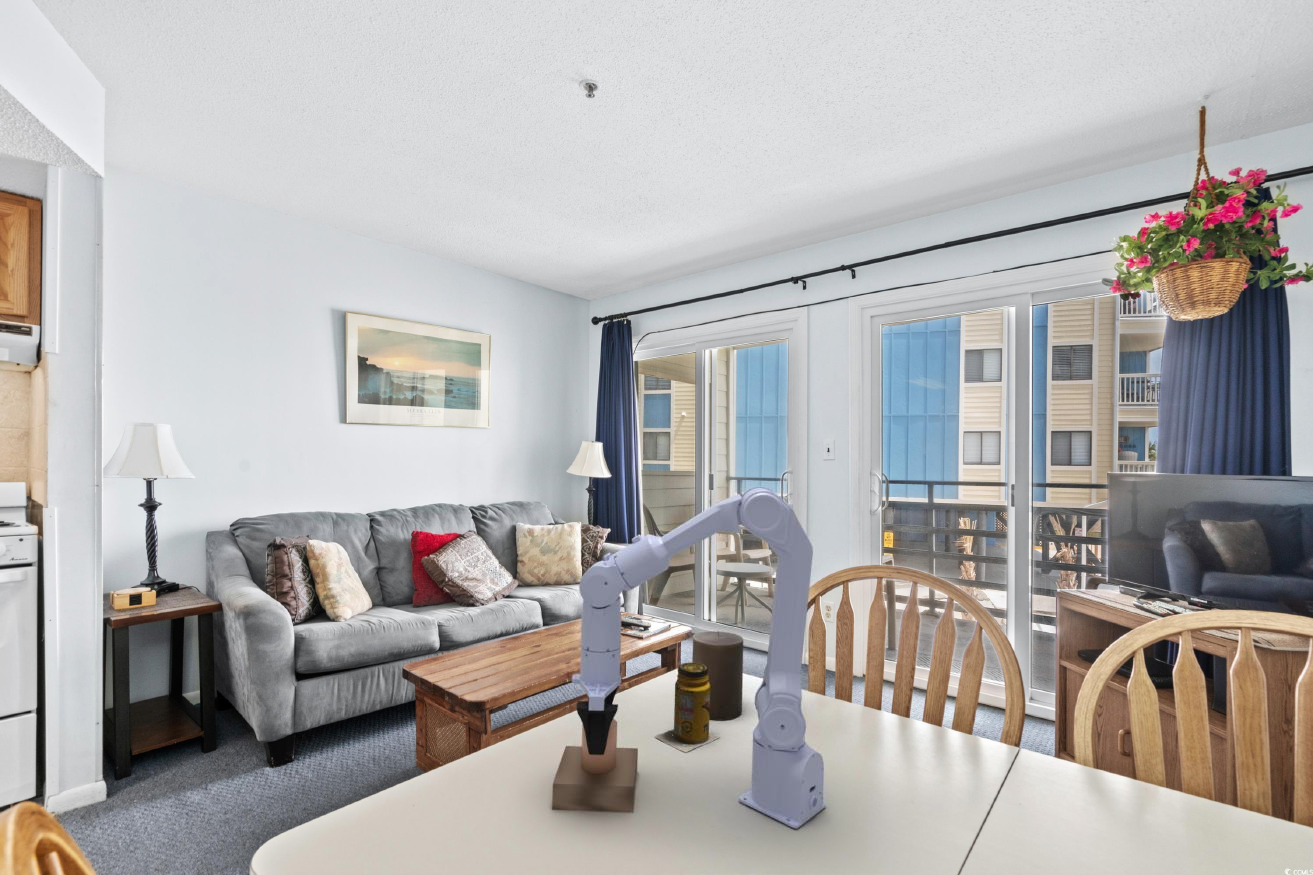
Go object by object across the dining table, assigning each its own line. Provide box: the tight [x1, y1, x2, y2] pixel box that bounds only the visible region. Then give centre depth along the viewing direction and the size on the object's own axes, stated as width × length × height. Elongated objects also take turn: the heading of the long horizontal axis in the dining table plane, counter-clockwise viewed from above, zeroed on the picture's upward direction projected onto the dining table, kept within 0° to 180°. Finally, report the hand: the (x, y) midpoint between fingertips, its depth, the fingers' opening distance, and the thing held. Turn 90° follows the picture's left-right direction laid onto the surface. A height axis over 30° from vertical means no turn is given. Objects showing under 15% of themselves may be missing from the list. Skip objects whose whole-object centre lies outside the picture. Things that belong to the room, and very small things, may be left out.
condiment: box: [654, 662, 720, 753], centre depth 110 cm, size 7×8×12 cm
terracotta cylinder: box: [581, 718, 618, 774], centre depth 93 cm, size 5×5×6 cm
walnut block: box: [551, 745, 639, 813], centre depth 93 cm, size 11×11×4 cm
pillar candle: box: [691, 630, 744, 721], centre depth 122 cm, size 10×10×15 cm
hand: (598, 740), depth 93 cm, fingers open, 7 cm apart
